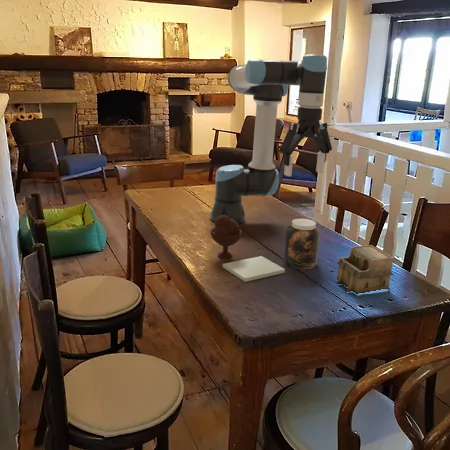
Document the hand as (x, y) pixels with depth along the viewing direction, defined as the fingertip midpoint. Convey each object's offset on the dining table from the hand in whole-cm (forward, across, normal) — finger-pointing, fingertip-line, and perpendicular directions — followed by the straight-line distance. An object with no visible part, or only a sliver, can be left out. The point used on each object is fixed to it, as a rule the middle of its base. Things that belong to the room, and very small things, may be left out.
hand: (303, 174), depth 161 cm
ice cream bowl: (+32, -18, +17) cm, 40 cm away
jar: (+32, +2, 0) cm, 32 cm away
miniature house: (+32, +8, -22) cm, 40 cm away
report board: (+32, -16, +2) cm, 36 cm away
